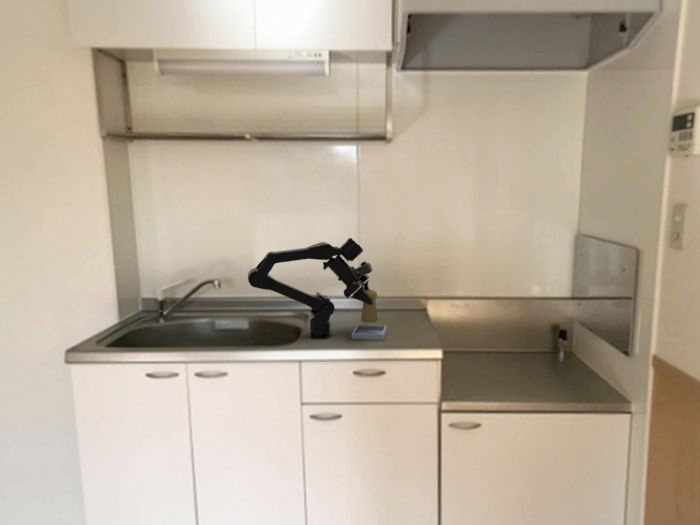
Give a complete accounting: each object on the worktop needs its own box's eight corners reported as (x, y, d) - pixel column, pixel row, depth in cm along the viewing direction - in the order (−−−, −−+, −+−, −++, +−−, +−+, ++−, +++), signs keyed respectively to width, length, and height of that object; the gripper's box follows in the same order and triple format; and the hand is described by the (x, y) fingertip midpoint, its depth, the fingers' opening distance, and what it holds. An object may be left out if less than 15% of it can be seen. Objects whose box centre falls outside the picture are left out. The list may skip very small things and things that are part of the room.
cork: (378, 318, 168) (378, 288, 167) (377, 323, 162) (377, 292, 161) (361, 318, 169) (361, 288, 167) (360, 322, 163) (360, 291, 161)
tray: (352, 339, 162) (351, 333, 162) (357, 330, 173) (357, 324, 173) (382, 340, 160) (382, 334, 160) (386, 331, 171) (386, 326, 170)
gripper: (353, 258, 154) (385, 292, 153) (363, 252, 172) (393, 282, 171) (330, 281, 157) (362, 314, 156) (342, 272, 175) (371, 302, 174)
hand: (373, 302), depth 164 cm, fingers closed on cork, 5 cm apart
